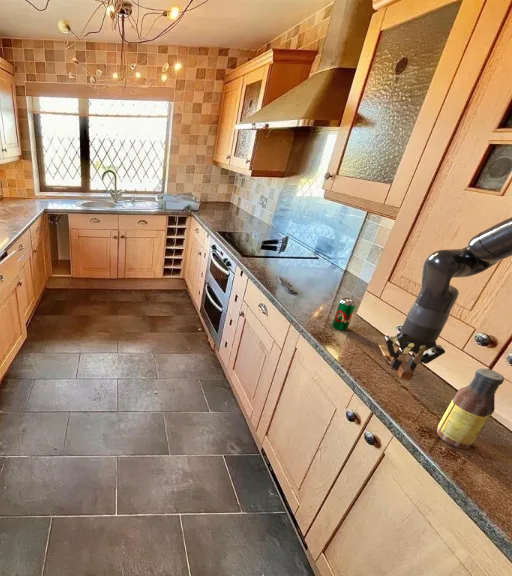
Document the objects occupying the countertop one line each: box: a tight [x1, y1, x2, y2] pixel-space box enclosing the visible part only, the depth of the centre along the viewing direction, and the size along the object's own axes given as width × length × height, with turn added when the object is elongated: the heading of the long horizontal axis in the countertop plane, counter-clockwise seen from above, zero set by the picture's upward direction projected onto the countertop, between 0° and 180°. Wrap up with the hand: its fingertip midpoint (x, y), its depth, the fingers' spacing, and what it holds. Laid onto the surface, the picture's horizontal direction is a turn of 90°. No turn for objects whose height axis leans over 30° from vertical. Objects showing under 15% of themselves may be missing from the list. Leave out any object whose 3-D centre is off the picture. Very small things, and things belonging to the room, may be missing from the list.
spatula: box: [378, 344, 415, 381], centre depth 93 cm, size 16×5×2 cm, turn 157°
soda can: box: [332, 297, 357, 332], centre depth 115 cm, size 5×5×12 cm
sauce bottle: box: [436, 367, 505, 450], centre depth 70 cm, size 7×6×20 cm
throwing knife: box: [277, 275, 297, 294], centre depth 152 cm, size 4×20×1 cm, turn 176°
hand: (401, 369), depth 90 cm, fingers closed on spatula, 2 cm apart
